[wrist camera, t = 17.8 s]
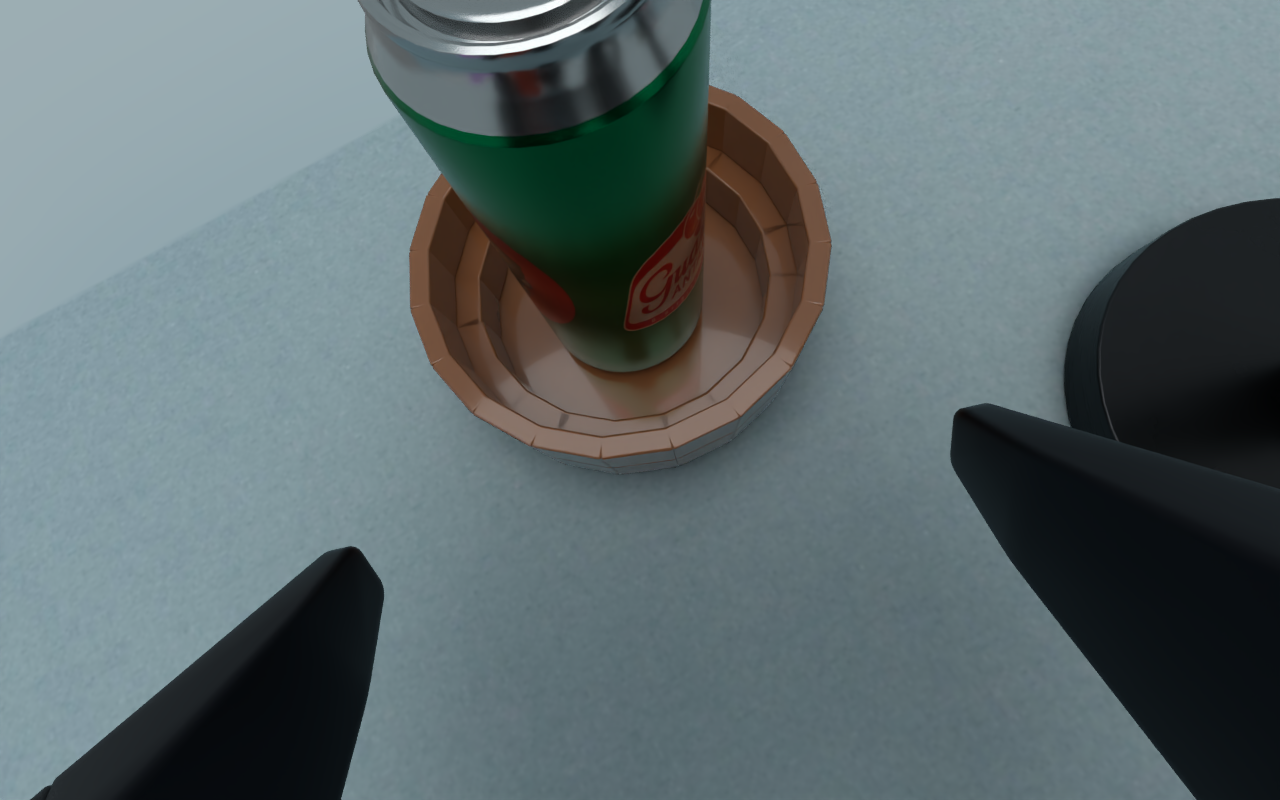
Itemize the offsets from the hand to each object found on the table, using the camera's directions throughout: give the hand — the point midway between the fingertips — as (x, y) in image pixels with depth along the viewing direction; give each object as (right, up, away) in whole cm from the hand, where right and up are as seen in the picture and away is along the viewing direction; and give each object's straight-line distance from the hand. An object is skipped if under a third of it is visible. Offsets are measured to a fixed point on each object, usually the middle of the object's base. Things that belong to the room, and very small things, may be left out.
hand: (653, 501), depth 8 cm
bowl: (-1, +5, +11) cm, 12 cm away
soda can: (-1, +5, +10) cm, 11 cm away
